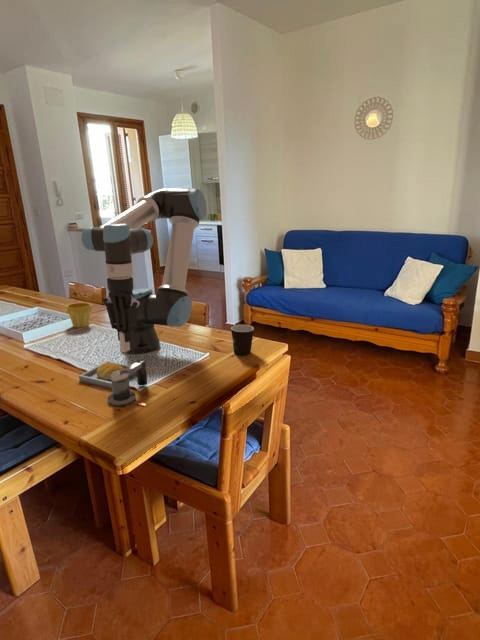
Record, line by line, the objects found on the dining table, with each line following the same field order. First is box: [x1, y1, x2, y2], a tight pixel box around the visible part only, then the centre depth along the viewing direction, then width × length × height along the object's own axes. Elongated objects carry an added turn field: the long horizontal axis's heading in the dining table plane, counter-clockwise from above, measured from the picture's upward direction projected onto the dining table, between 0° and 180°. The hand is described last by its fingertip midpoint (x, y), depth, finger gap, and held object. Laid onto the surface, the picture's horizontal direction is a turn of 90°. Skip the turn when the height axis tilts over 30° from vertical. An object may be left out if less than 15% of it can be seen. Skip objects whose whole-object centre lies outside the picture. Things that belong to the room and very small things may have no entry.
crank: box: [111, 359, 148, 386], centre depth 126 cm, size 14×5×8 cm, turn 156°
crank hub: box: [107, 379, 147, 408], centre depth 121 cm, size 12×8×7 cm, turn 66°
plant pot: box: [66, 302, 92, 329], centre depth 189 cm, size 10×10×10 cm
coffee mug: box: [230, 324, 255, 357], centre depth 159 cm, size 12×9×10 cm
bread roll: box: [97, 362, 124, 380], centre depth 137 cm, size 8×9×4 cm
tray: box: [78, 360, 137, 390], centre depth 138 cm, size 14×14×2 cm
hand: (125, 350), depth 130 cm, fingers closed
